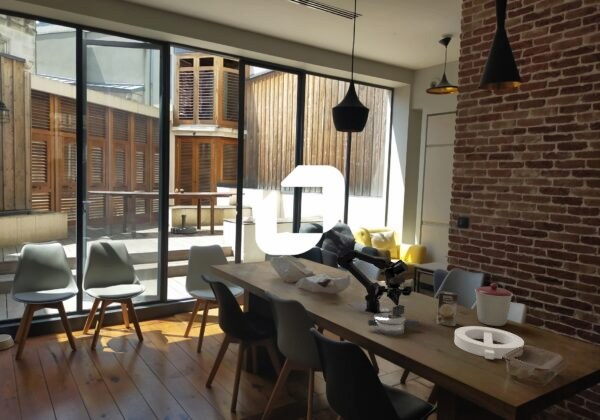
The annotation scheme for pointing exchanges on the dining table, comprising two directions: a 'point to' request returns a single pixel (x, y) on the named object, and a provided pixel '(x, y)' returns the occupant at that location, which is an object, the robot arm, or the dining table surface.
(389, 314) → the lid
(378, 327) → the pot
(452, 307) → the coffee box
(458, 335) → the ring with crossbar
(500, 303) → the canister
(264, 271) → the dining table surface
